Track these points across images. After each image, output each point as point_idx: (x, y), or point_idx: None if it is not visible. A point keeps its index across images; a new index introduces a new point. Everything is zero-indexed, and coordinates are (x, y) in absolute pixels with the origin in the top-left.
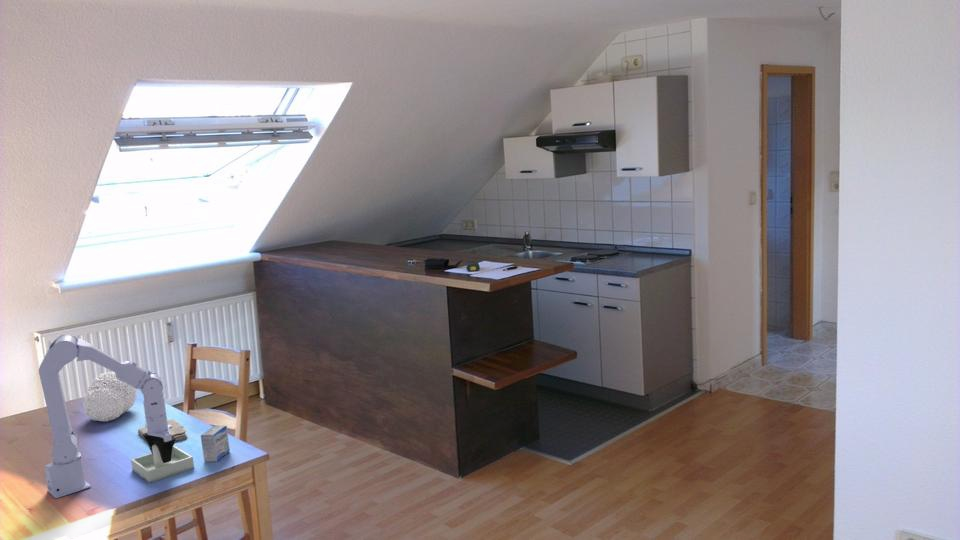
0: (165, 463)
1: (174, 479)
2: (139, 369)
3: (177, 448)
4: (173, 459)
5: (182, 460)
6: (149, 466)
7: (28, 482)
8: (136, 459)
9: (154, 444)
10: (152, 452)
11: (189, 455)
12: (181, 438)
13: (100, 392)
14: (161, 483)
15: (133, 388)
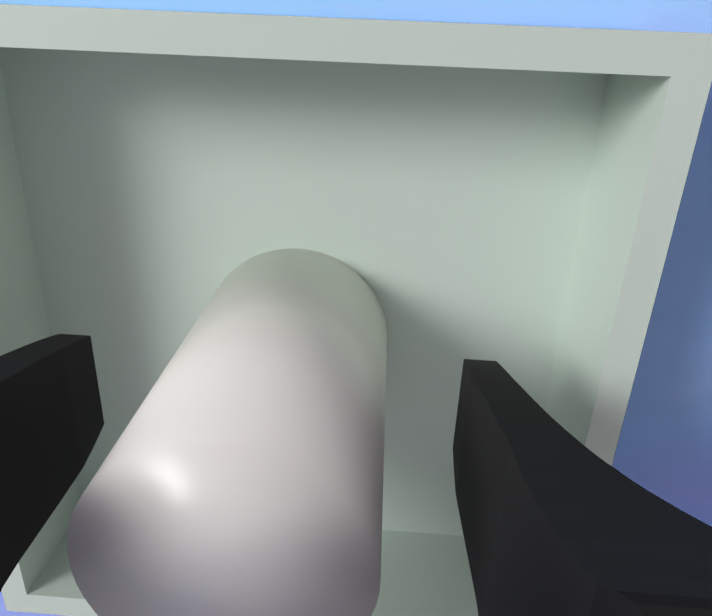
0: (384, 365)
1: (707, 366)
2: None
3: (32, 30)
4: (137, 122)
5: (666, 237)
6: (139, 405)
7: None
8: (28, 561)
9: (93, 601)
10: (75, 476)
11: (593, 44)
12: None
13: None
14: (657, 483)
15: None
